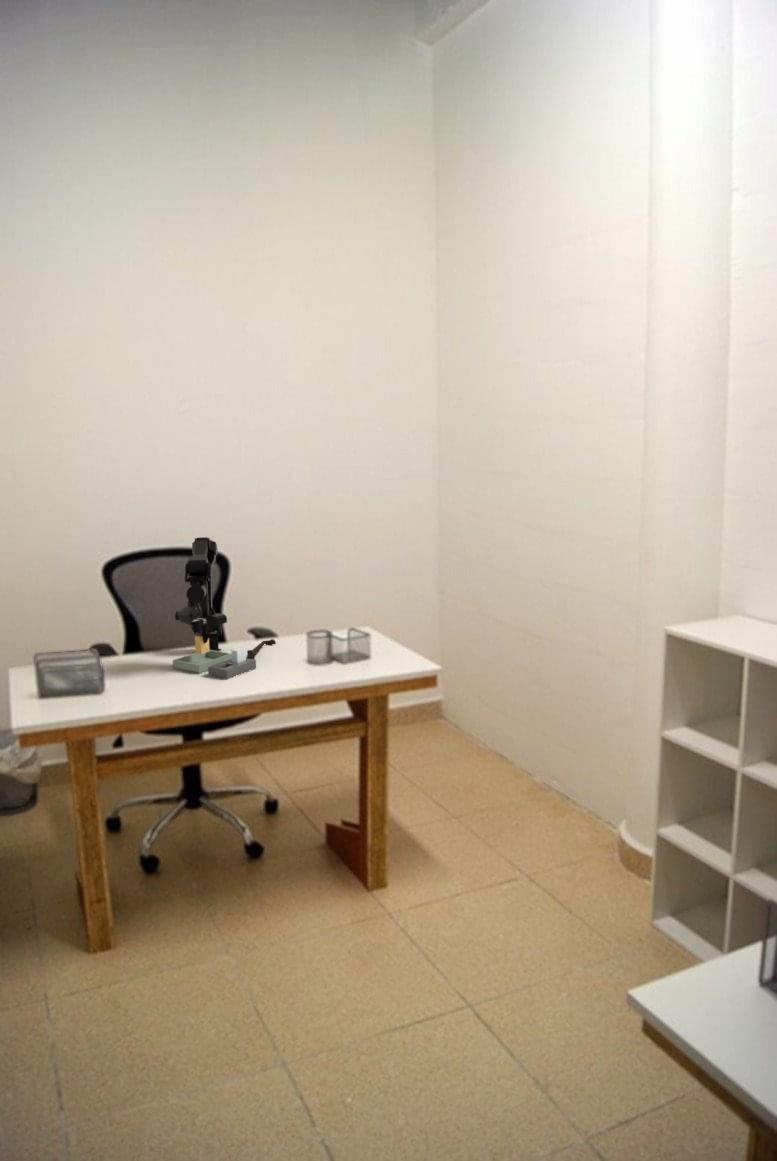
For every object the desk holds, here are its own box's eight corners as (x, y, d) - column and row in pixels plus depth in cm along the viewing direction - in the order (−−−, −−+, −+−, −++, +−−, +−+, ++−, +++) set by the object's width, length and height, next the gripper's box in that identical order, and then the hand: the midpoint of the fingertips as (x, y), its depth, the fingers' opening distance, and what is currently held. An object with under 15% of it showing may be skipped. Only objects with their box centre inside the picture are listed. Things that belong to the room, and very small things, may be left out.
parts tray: (173, 669, 296) (172, 660, 295) (207, 657, 309) (206, 649, 308) (199, 674, 289) (199, 665, 289) (233, 662, 302) (232, 653, 302)
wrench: (276, 649, 326) (260, 666, 296) (263, 650, 326) (245, 667, 296) (275, 635, 325) (259, 651, 295) (261, 636, 325) (244, 652, 296)
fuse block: (208, 675, 287) (208, 666, 287) (238, 665, 299) (237, 656, 298) (227, 679, 283) (226, 670, 282) (256, 668, 294) (255, 659, 294)
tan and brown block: (195, 653, 297) (194, 632, 296) (204, 650, 300) (203, 630, 299) (201, 654, 296) (199, 633, 295) (209, 651, 299) (208, 631, 298)
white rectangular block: (232, 670, 292) (231, 650, 291) (240, 667, 296) (239, 647, 294) (238, 671, 291) (237, 651, 290) (246, 668, 294) (245, 648, 293)
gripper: (161, 598, 293) (164, 644, 296) (202, 604, 283) (205, 651, 286) (185, 592, 302) (188, 636, 305) (226, 597, 292) (229, 643, 295)
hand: (202, 642), depth 298 cm, fingers closed on tan and brown block, 2 cm apart
